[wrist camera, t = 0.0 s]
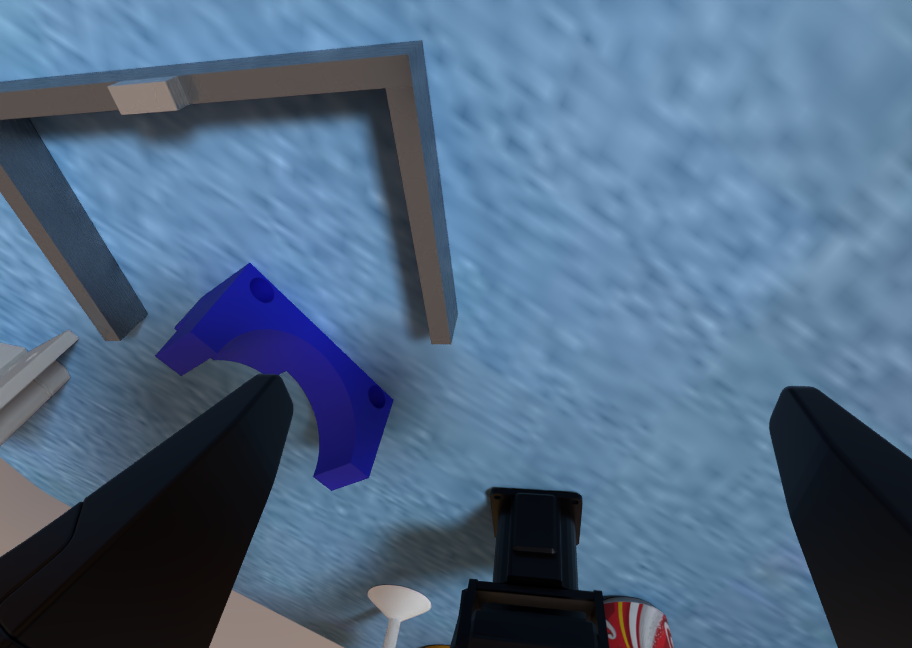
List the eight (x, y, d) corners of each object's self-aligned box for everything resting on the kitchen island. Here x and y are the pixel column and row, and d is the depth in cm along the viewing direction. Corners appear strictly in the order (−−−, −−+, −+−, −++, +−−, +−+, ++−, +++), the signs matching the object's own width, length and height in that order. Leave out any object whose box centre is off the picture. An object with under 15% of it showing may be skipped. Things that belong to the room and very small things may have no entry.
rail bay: (457, 313, 27) (448, 355, 24) (133, 313, 30) (95, 350, 28) (422, 40, 19) (403, 59, 16) (-13, 83, 22) (-85, 104, 20)
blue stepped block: (203, 295, 29) (138, 367, 24) (251, 260, 27) (190, 331, 22) (345, 418, 34) (314, 496, 30) (394, 397, 32) (368, 477, 28)
